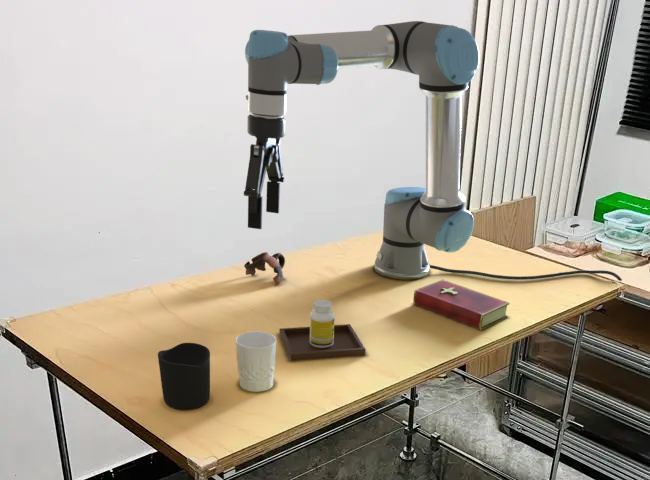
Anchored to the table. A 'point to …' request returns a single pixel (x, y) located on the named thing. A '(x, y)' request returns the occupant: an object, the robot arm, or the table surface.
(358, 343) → the tray
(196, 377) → the pen holder
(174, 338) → the table surface
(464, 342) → the table surface
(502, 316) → the hardcover book
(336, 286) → the table surface
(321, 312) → the supplement bottle
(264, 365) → the white cup
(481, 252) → the table surface
